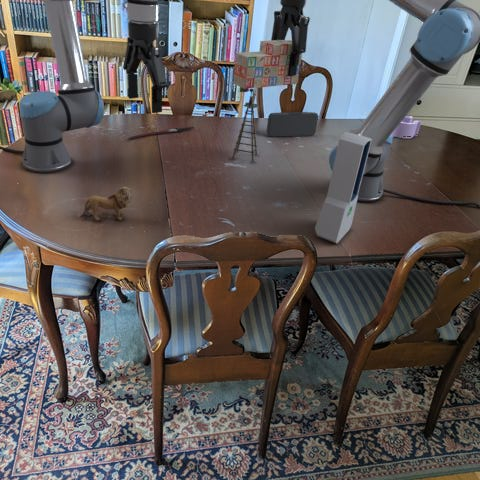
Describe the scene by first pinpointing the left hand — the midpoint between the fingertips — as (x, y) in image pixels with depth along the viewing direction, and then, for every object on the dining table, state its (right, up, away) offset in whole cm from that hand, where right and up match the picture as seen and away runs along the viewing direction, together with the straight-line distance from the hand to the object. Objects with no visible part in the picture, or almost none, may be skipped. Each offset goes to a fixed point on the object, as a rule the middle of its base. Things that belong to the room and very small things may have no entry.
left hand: (144, 104), depth 130 cm
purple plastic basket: (+100, +12, +91) cm, 136 cm away
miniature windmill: (+28, -6, +51) cm, 58 cm away
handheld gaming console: (+49, +8, +76) cm, 91 cm away
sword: (-6, +6, +63) cm, 63 cm away
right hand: (+41, +16, +19) cm, 48 cm away
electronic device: (+54, -36, +9) cm, 65 cm away
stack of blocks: (+35, +11, +16) cm, 40 cm away
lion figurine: (-11, -31, +5) cm, 33 cm away
